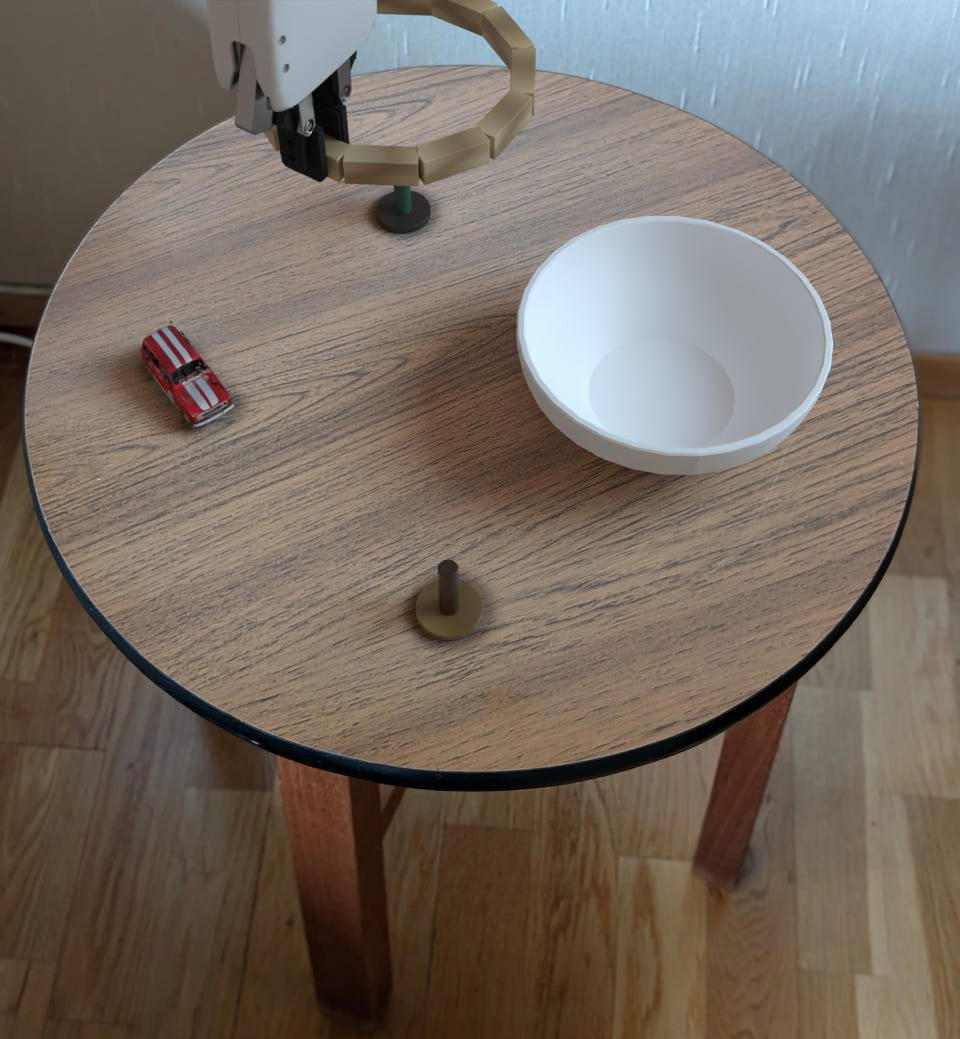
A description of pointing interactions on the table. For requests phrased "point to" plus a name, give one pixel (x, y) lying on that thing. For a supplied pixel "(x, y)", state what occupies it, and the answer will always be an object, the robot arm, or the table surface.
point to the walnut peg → (449, 605)
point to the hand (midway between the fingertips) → (316, 159)
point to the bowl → (673, 344)
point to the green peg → (403, 210)
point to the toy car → (184, 376)
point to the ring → (474, 11)
